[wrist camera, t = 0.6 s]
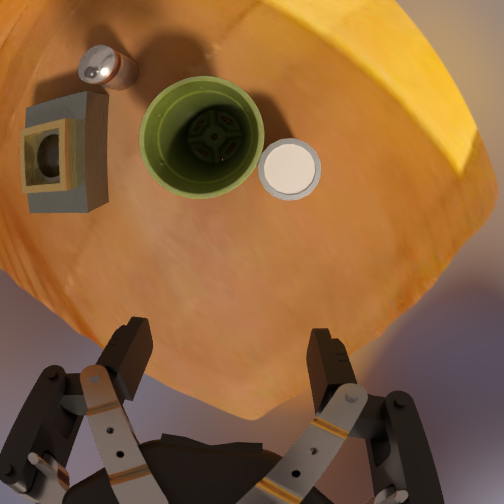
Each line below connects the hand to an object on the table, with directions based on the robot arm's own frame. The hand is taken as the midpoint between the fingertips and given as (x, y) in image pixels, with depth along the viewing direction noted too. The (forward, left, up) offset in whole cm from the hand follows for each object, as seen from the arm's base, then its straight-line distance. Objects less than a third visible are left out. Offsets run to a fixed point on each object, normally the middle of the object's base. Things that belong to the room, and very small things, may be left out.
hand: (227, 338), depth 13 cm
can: (-19, -18, -27) cm, 38 cm away
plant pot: (-9, -4, -27) cm, 29 cm away
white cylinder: (-6, +5, -27) cm, 28 cm away
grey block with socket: (-8, -26, -26) cm, 38 cm away
